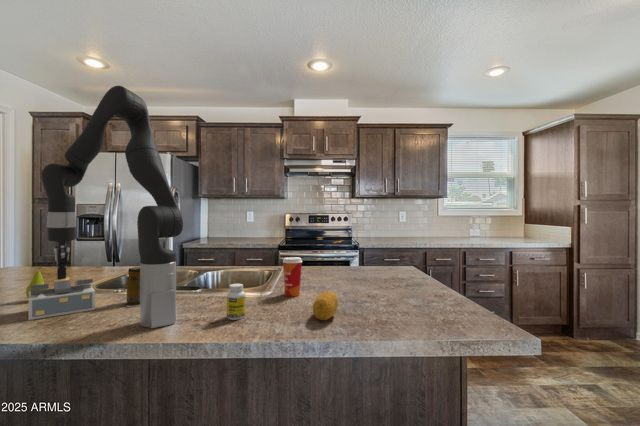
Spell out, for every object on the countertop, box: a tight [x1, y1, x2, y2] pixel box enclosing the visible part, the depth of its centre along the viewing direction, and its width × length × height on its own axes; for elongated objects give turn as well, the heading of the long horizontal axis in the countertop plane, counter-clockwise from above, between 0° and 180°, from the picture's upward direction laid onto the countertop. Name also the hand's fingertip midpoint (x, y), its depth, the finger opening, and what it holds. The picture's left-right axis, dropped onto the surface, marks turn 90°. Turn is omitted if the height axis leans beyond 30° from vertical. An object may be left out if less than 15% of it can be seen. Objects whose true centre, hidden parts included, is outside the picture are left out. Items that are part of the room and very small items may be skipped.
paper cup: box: [282, 256, 303, 297], centre depth 127 cm, size 8×8×14 cm
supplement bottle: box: [226, 283, 246, 321], centre depth 99 cm, size 5×5×10 cm
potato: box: [312, 290, 339, 321], centre depth 100 cm, size 7×14×7 cm, turn 167°
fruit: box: [25, 265, 45, 299], centre depth 116 cm, size 6×6×12 cm
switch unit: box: [28, 283, 96, 321], centre depth 105 cm, size 12×16×7 cm
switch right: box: [73, 278, 94, 286], centre depth 109 cm, size 10×4×1 cm, turn 41°
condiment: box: [122, 266, 140, 308], centre depth 114 cm, size 7×8×12 cm
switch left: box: [31, 283, 50, 291], centre depth 102 cm, size 10×4×1 cm, turn 41°
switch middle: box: [52, 276, 72, 294], centre depth 105 cm, size 10×4×1 cm, turn 41°
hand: (61, 278), depth 108 cm, fingers closed
